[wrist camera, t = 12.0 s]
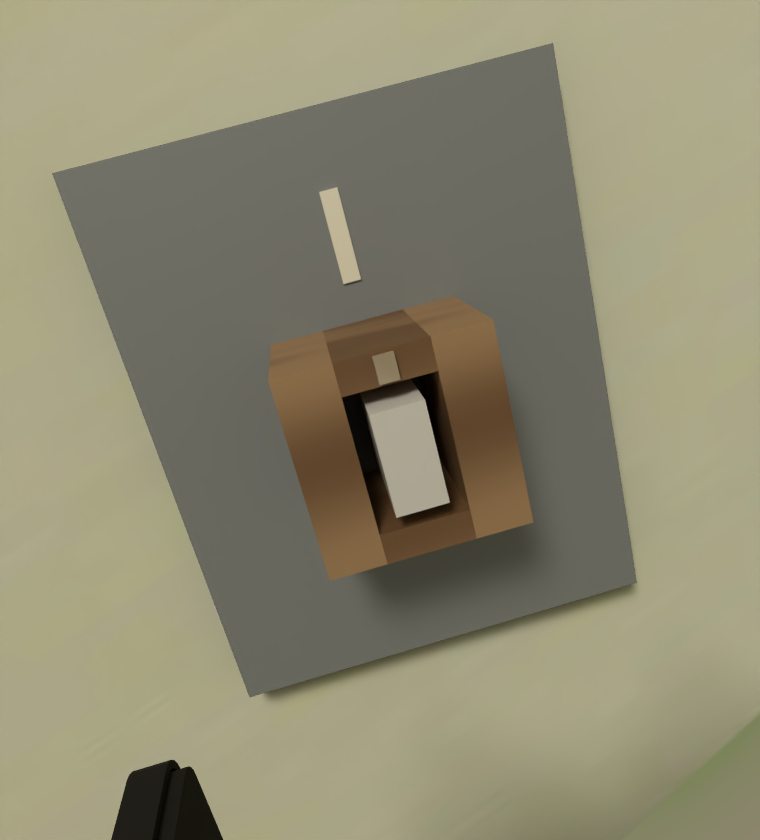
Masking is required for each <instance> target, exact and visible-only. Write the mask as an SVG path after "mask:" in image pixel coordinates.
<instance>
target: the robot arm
mask: <svg viewBox="0 0 760 840" xmlns="http://www.w3.org/2000/svg"><path fill="white" fill-rule="evenodd" d="M111 840H223V838H222V836H221V833H220V831H219V829H218V826H217V824H216V822H215V819H214V817H213V814H212V812H211V810H210V807H209V805H208V803H207V800H206V798H205V795H204V793H203V791H202V788H201V786H200V784H199V781H198V779H197V776H196V774H195V772H194V770H193V769H192V768H191V767H185V768H182V769H180V767H179V765H178V763H177V762H176V761H175V760H169V761H166V762H163V763H159V764H156V765H153V766H149V767H146V768H143V769H140V770H136V771H133V772H132V773H131V774H130V775H129V777H128V779H127V782H126V786H125V790H124V794H123V798H122V801H121V805H120V809H119V813H118V816H117V820H116V824H115V828H114V831H113V835H112V839H111Z"/></svg>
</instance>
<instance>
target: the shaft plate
mask: <svg viewBox="0 0 760 840" xmlns="http://www.w3.org/2000/svg"><path fill="white" fill-rule="evenodd" d="M52 174H53V177H54V180H55V182H56V185H57V187H58V190H59V193H60V195H61V198H62V201H63V203H64V206H65V209H66V211H67V214H68V217H69V219H70V222H71V225H72V227H73V230H74V233H75V235H76V238H77V241H78V243H79V246H80V248H81V251H82V254H83V256H84V259H85V262H86V264H87V267H88V270H89V272H90V275H91V278H92V280H93V283H94V286H95V288H96V291H97V294H98V296H99V299H100V302H101V304H102V307H103V310H104V312H105V315H106V317H107V320H108V323H109V325H110V328H111V331H112V333H113V336H114V339H115V341H116V344H117V347H118V349H119V352H120V355H121V357H122V360H123V363H124V365H125V368H126V371H127V373H128V376H129V378H130V381H131V384H132V386H133V389H134V392H135V394H136V397H137V400H138V402H139V405H140V408H141V410H142V413H143V416H144V418H145V421H146V424H147V426H148V429H149V432H150V434H151V437H152V439H153V442H154V445H155V447H156V450H157V453H158V455H159V458H160V461H161V463H162V466H163V469H164V471H165V474H166V477H167V479H168V482H169V485H170V487H171V490H172V493H173V495H174V498H175V501H176V503H177V506H178V508H179V511H180V514H181V516H182V519H183V522H184V524H185V527H186V530H187V532H188V535H189V538H190V540H191V543H192V546H193V548H194V551H195V554H196V556H197V559H198V562H199V564H200V567H201V569H202V572H203V575H204V577H205V580H206V583H207V585H208V588H209V591H210V593H211V596H212V599H213V601H214V604H215V607H216V609H217V612H218V615H219V617H220V620H221V623H222V625H223V628H224V631H225V633H226V636H227V638H228V641H229V644H230V646H231V649H232V652H233V654H234V657H235V660H236V662H237V665H238V668H239V670H240V673H241V676H242V678H243V681H244V684H245V686H246V689H247V692H248V694H249V697H252V696H255V695H259V694H262V693H266V692H269V691H272V690H276V689H279V688H282V687H286V686H289V685H293V684H296V683H299V682H303V681H306V680H309V679H313V678H316V677H320V676H323V675H326V674H330V673H333V672H337V671H340V670H343V669H347V668H350V667H353V666H357V665H360V664H364V663H367V662H370V661H374V660H377V659H380V658H384V657H387V656H391V655H394V654H397V653H401V652H404V651H408V650H411V649H414V648H418V647H421V646H424V645H428V644H431V643H435V642H438V641H441V640H445V639H448V638H451V637H455V636H458V635H462V634H465V633H468V632H472V631H475V630H478V629H482V628H485V627H489V626H492V625H495V624H499V623H502V622H506V621H509V620H512V619H516V618H519V617H522V616H526V615H529V614H533V613H536V612H539V611H543V610H546V609H549V608H553V607H556V606H560V605H563V604H566V603H570V602H573V601H577V600H580V599H583V598H587V597H590V596H593V595H597V594H600V593H604V592H607V591H610V590H614V589H617V588H620V587H624V586H627V585H631V584H634V583H637V581H636V575H635V568H634V562H633V555H632V549H631V542H630V536H629V530H628V523H627V517H626V510H625V504H624V497H623V491H622V484H621V478H620V472H619V465H618V459H617V452H616V446H615V439H614V433H613V426H612V420H611V413H610V407H609V401H608V394H607V388H606V381H605V375H604V368H603V362H602V355H601V349H600V343H599V336H598V330H597V323H596V317H595V310H594V304H593V297H592V291H591V285H590V278H589V272H588V265H587V259H586V252H585V246H584V239H583V233H582V227H581V220H580V214H579V207H578V201H577V194H576V188H575V181H574V175H573V169H572V162H571V156H570V149H569V143H568V136H567V130H566V123H565V117H564V110H563V104H562V98H561V91H560V85H559V78H558V72H557V65H556V59H555V52H554V46H553V43H552V44H548V45H544V46H540V47H536V48H532V49H529V50H525V51H521V52H517V53H513V54H509V55H506V56H502V57H498V58H494V59H490V60H486V61H482V62H479V63H475V64H471V65H467V66H463V67H459V68H456V69H452V70H448V71H444V72H440V73H436V74H432V75H429V76H425V77H421V78H417V79H413V80H409V81H406V82H402V83H398V84H394V85H390V86H386V87H383V88H379V89H375V90H371V91H367V92H363V93H359V94H356V95H352V96H348V97H344V98H340V99H336V100H333V101H329V102H325V103H321V104H317V105H313V106H309V107H306V108H302V109H298V110H294V111H290V112H286V113H283V114H279V115H275V116H271V117H267V118H263V119H260V120H256V121H252V122H248V123H244V124H240V125H236V126H233V127H229V128H225V129H221V130H217V131H213V132H210V133H206V134H202V135H198V136H194V137H190V138H186V139H183V140H179V141H175V142H171V143H167V144H163V145H160V146H156V147H152V148H148V149H144V150H140V151H137V152H133V153H129V154H125V155H121V156H117V157H113V158H110V159H106V160H102V161H98V162H94V163H90V164H87V165H83V166H79V167H75V168H71V169H67V170H63V171H60V172H56V173H52ZM450 296H455V297H456V298H458V299H460V300H461V301H463V302H465V303H467V304H468V305H470V306H472V307H473V308H475V309H477V310H478V311H480V312H482V313H483V314H485V315H487V316H488V317H490V318H492V319H493V320H494V325H495V330H496V335H497V340H498V345H499V350H500V355H501V360H502V365H503V370H504V376H505V381H506V386H507V391H508V396H509V401H510V406H511V411H512V416H513V421H514V426H515V431H516V436H517V441H518V446H519V451H520V456H521V461H522V466H523V471H524V477H525V482H526V487H527V492H528V497H529V502H530V507H531V512H532V517H533V523H530V524H526V525H523V526H519V527H516V528H512V529H509V530H505V531H502V532H499V533H495V534H492V535H488V536H485V537H481V538H478V539H474V540H471V541H467V542H464V543H460V544H457V545H453V546H450V547H446V548H443V549H439V550H436V551H432V552H429V553H425V554H422V555H418V556H415V557H411V558H408V559H404V560H401V561H397V562H394V563H390V564H387V565H383V566H380V567H377V568H373V569H370V570H366V571H363V572H359V573H356V574H352V575H349V576H345V577H342V578H338V579H335V580H331V581H330V580H329V577H328V574H327V570H326V567H325V564H324V561H323V557H322V554H321V551H320V548H319V544H318V541H317V538H316V535H315V531H314V528H313V525H312V522H311V519H310V515H309V512H308V509H307V506H306V502H305V499H304V496H303V493H302V489H301V486H300V483H299V480H298V476H297V473H296V470H295V467H294V463H293V460H292V457H291V454H290V451H289V447H288V444H287V441H286V438H285V434H284V431H283V428H282V425H281V421H280V418H279V415H278V412H277V408H276V405H275V402H274V399H273V395H272V392H271V389H270V386H269V383H268V375H269V364H270V352H271V345H273V344H276V343H280V342H284V341H287V340H291V339H295V338H298V337H302V336H306V335H310V334H313V333H317V332H321V331H324V330H328V329H332V328H335V327H339V326H343V325H347V324H350V323H354V322H358V321H361V320H365V319H369V318H372V317H376V316H380V315H383V314H387V313H391V312H395V311H398V310H402V309H406V308H409V307H413V306H417V305H420V304H424V303H428V302H431V301H435V300H439V299H443V298H446V297H450ZM342 401H343V405H344V408H345V412H346V416H347V419H348V423H349V426H350V430H351V434H352V437H353V441H354V445H355V448H356V452H357V455H358V459H359V463H360V466H361V470H362V473H363V474H364V473H367V472H371V471H374V470H378V469H380V472H381V475H382V478H383V481H384V484H385V486H386V489H387V492H388V495H389V498H390V501H391V504H392V506H393V509H394V512H395V515H396V518H398V517H402V516H405V515H409V514H412V513H416V512H419V511H423V510H426V509H429V508H433V507H436V506H440V505H443V504H447V503H450V501H449V497H448V493H447V489H446V484H445V480H444V476H443V472H442V468H441V464H440V460H439V455H438V451H437V447H436V443H435V439H434V435H433V431H432V426H431V422H430V418H429V414H428V410H427V406H426V402H425V399H424V398H423V394H422V389H421V385H420V381H419V377H414V378H411V379H407V380H403V381H400V382H396V383H393V384H389V385H385V386H382V387H378V388H374V389H371V390H367V391H364V392H360V393H356V394H353V395H349V396H345V397H342Z"/></svg>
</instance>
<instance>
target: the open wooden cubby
mask: <svg viewBox="0 0 760 840" xmlns="http://www.w3.org/2000/svg"><path fill="white" fill-rule="evenodd" d="M414 377H419V381H420V385H421V389H422V394H423V398H424V399H425V402H426V406H427V410H428V414H429V418H430V422H431V426H432V431H433V435H434V439H435V443H436V447H437V451H438V455H439V460H440V464H441V468H442V472H443V476H444V480H445V484H446V489H447V493H448V497H449V501H450V503H447V504H443V505H440V506H436V507H433V508H429V509H426V510H423V511H419V512H416V513H412V514H409V515H405V516H402V517H398V518H396V515H395V512H394V509H393V506H392V504H391V501H390V498H389V495H388V492H387V489H386V486H385V484H384V481H383V478H382V475H381V472H380V469H378V470H374V471H371V472H367V473H364V474H363V473H362V470H361V466H360V463H359V459H358V455H357V452H356V448H355V445H354V441H353V437H352V434H351V430H350V426H349V423H348V419H347V416H346V412H345V408H344V405H343V401H342V397H345V396H349V395H353V394H356V393H360V392H364V391H367V390H371V389H374V388H378V387H382V386H385V385H389V384H393V383H396V382H400V381H403V380H407V379H411V378H414ZM268 383H269V386H270V389H271V392H272V395H273V399H274V402H275V405H276V408H277V412H278V415H279V418H280V421H281V425H282V428H283V431H284V434H285V438H286V441H287V444H288V447H289V451H290V454H291V457H292V460H293V463H294V467H295V470H296V473H297V476H298V480H299V483H300V486H301V489H302V493H303V496H304V499H305V502H306V506H307V509H308V512H309V515H310V519H311V522H312V525H313V528H314V531H315V535H316V538H317V541H318V544H319V548H320V551H321V554H322V557H323V561H324V564H325V567H326V570H327V574H328V577H329V580H330V581H331V580H335V579H338V578H342V577H345V576H349V575H352V574H356V573H359V572H363V571H366V570H370V569H373V568H377V567H380V566H383V565H387V564H390V563H394V562H397V561H401V560H404V559H408V558H411V557H415V556H418V555H422V554H425V553H429V552H432V551H436V550H439V549H443V548H446V547H450V546H453V545H457V544H460V543H464V542H467V541H471V540H474V539H478V538H481V537H485V536H488V535H492V534H495V533H499V532H502V531H505V530H509V529H512V528H516V527H519V526H523V525H526V524H530V523H533V517H532V512H531V507H530V502H529V497H528V492H527V487H526V482H525V477H524V471H523V466H522V461H521V456H520V451H519V446H518V441H517V436H516V431H515V426H514V421H513V416H512V411H511V406H510V401H509V396H508V391H507V386H506V381H505V376H504V370H503V365H502V360H501V355H500V350H499V345H498V340H497V335H496V330H495V325H494V320H493V319H492V318H490V317H488V316H487V315H485V314H483V313H482V312H480V311H478V310H477V309H475V308H473V307H472V306H470V305H468V304H467V303H465V302H463V301H461V300H460V299H458V298H456V297H455V296H450V297H446V298H443V299H439V300H435V301H431V302H428V303H424V304H420V305H417V306H413V307H409V308H406V309H402V310H398V311H395V312H391V313H387V314H383V315H380V316H376V317H372V318H369V319H365V320H361V321H358V322H354V323H350V324H347V325H343V326H339V327H335V328H332V329H328V330H324V331H321V332H317V333H313V334H310V335H306V336H302V337H298V338H295V339H291V340H287V341H284V342H280V343H276V344H273V345H271V352H270V364H269V375H268Z"/></svg>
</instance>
